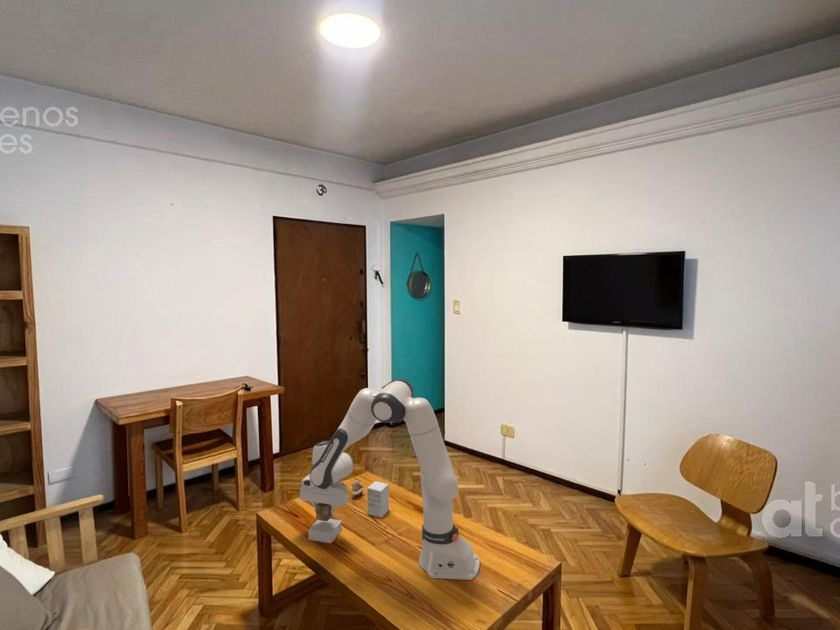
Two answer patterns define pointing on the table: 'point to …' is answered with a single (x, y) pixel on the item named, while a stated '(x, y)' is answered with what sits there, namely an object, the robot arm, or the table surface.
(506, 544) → the table surface
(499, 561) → the table surface
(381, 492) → the supplement box
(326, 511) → the walnut block
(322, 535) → the plinth
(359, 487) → the architectural model
